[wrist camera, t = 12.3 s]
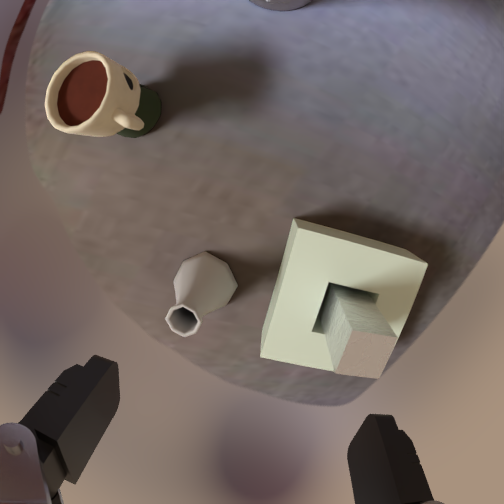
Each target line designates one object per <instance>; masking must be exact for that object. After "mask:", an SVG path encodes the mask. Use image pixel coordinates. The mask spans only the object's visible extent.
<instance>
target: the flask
mask: <svg viewBox="0 0 504 504" xmlns="http://www.w3.org/2000/svg"><path fill="white" fill-rule="evenodd" d="M174 287H175V292H176V301H177V302H176V305H175V306H172V307H171V308H170V310H169V312H168V314H167V316H166V318H165V319H166V321H167V323H168V325H169V326H170V328H171V330H172V331H174V332H175V333H177V334H179V335H181V336H183V337H187V336H190V335H193V334H195V333H197V331H198V329H199V327H200V325H201V324H202V322H203V320H202V317H203V316H204V315H206V314H208V313H210V312H212V311H214V310H216V309H219V308H221V307H224V306H226V305H227V304H228V302H229V300H230V298H231V297H232V295H233V293H234V292H235V290H236V288H237V287H238V285H237V282H236V280H235V278H234V276H233V274H232V272H231V270H230V268H229V266H228V264H227V263H226V262H224V261H222V260H220V259H218V258H216V257H215V256H213V255H211V254H209V253H207V252H206V251H204V252H202V253H200V254H197V255H195V256H193V257H191V258H188V259H186V260H184V261H183V262H182V265H181V267H180V269H179V271H178V273H177V275H176V277H175V279H174Z"/></svg>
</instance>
